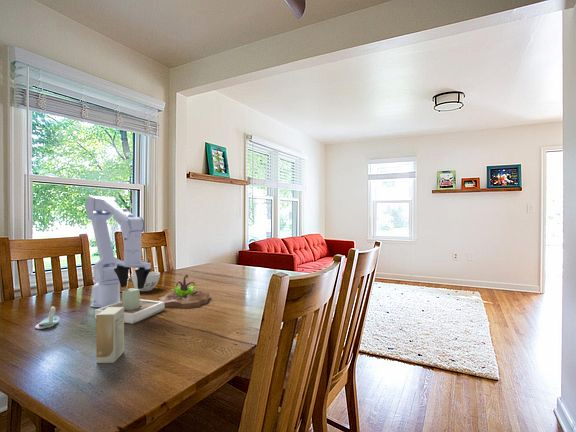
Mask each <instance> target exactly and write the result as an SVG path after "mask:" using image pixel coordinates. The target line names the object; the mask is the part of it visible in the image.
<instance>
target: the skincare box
mask: <svg viewBox="0 0 576 432" xmlns="http://www.w3.org/2000/svg"><path fill="white" fill-rule="evenodd" d="M95 320H96V334H95V335H96V338H95V339H96V342H95V343H96V347H95V348H96V359H95V360H96V361H95V362H96V364H109V363H110V364H113V363H115V362H117V360H118V359H119V358H120V357H121V356H122V355H123V354H124V353H125V323H124V307H107V308H106V309H104V310H103V311H101V312H100V313H98V314H97V315H96V319H95Z"/></svg>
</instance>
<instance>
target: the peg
mask: <svg viewBox="0 0 576 432" xmlns="http://www.w3.org/2000/svg"><path fill="white" fill-rule="evenodd" d="M140 292H141V291H140V289H137V288H133V287H131V288H127V289H124V290H122V293H121V295H122V297H121V301H122V307H124V309H125V310H134V309H137V308H139V307H140V299H141V298H140Z"/></svg>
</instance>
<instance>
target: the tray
mask: <svg viewBox="0 0 576 432" xmlns="http://www.w3.org/2000/svg"><path fill="white" fill-rule="evenodd" d="M140 302H147V303H156V304H155V305H153V306H150V307H148V308H145V309H143V310H140V311H138V312H135V313H125V312H124V324H125V323H127V324H135V323H138V322H140V321H143V320H145V319H147V318H149V317H151V316H154V315H156V314H159V313H160V312H163V311H165V307H164V306H165V302H161V301H158V300H151V299H142V298H140ZM119 304H122V300H120V302H117V303H114V304H111V305H108V306H105V307H102V308H100V307H98V308H97V309H94V318H95V320H96V315H97V314H98V313H100V312H101V311H103V310H104V309H106V308H107V307H113V306H116V305H119Z"/></svg>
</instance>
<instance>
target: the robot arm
mask: <svg viewBox="0 0 576 432" xmlns="http://www.w3.org/2000/svg"><path fill="white" fill-rule="evenodd" d="M84 206H85V211H86V216H87V219H89V220H91V224H92V228H93V234H94V238H95V242H96V247H97V253H98V258H99V260H98V261H97V262H95V264H94V265H93V280H94V282H96V283H95V284H94V285H93V287H92V291H91V293H92V294H91V295H92V296H91V299H92V300H91V301H92V302H91V304H90V307H94V308H102V307H105V306H108V305H111V304H114V303H117V302H120V301H121V288H125V287H127V286H128V278H129V277H128V276H129V272H130V269H133V268H134V269H135V270H134V273H135V272H136V275H137V285H138V289H141V288H144V284H145V281H146V278H147V276H148V274H149V272H152V271H151V269H152V263H151V262H146V261H145V262H144V261H142V234H143V232H144V231H145V229H146V228H145V227H146V222H145V219H144V218H143V217H142V216H135V215H134V214H133V213H132V212H130V211H129V210H128V208H127V207H121V206H119V204H118V202H117V198H115V196H100V195H99V196H95V195H88V196H87V197H86V199H85V204H84ZM111 218H113V220H114V221H115V222H116V223H117V224H118V225H120V231H121V234H122V235H121V236H122V238H123V260H121V259H119V258H118V257H115V255H114V251H113V250H114V249H113V245H112V242H111V237H110V232H109V229H108V223H107V221H108V220H110V219H111Z"/></svg>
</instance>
